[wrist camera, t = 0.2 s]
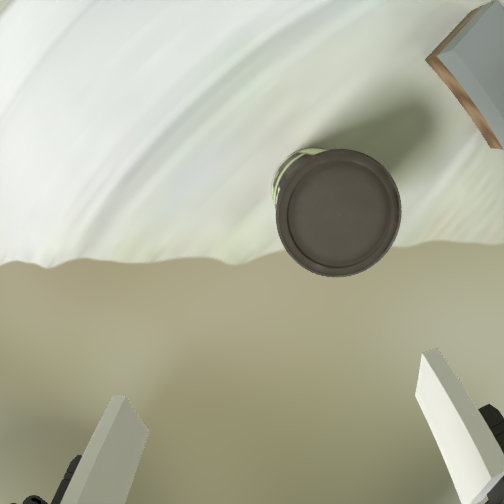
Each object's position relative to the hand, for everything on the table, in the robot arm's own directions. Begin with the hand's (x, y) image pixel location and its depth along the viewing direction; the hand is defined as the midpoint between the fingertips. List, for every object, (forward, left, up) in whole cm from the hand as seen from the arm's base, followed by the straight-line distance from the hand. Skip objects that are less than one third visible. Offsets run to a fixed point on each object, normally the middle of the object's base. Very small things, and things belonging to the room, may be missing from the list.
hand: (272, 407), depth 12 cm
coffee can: (-4, +6, -28) cm, 29 cm away
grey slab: (-18, +36, -24) cm, 47 cm away
